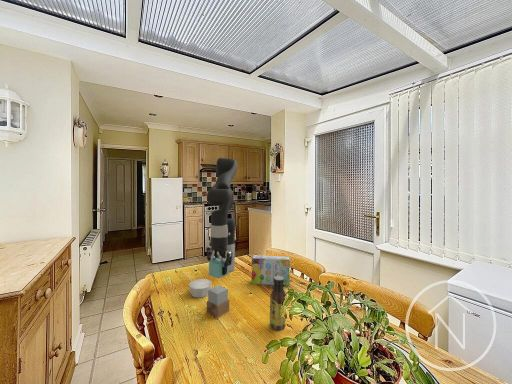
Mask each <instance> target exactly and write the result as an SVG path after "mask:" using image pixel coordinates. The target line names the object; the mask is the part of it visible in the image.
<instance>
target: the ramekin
mask: <svg viewBox="0 0 512 384" xmlns="http://www.w3.org/2000/svg"><path fill="white" fill-rule="evenodd" d="M212 284H213V283H212V281H211V280H210V279H206V278H198V279H194V280H192V281H190V283H189V285H188V287H189V291H190V295H191V296H192V297H193V298H205V297H208V290H209V289H211V287H212Z"/></svg>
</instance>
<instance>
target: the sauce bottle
mask: <svg viewBox="0 0 512 384" xmlns="http://www.w3.org/2000/svg"><path fill="white" fill-rule="evenodd" d="M273 281H274V285H273V290H272V291H271V293H270V298H269V299H270V300H269V326H270V327H271V329H274V330H277V331H281V330H283V329H285V327H286V321H287V320H286V318H287V317H286V318H284V317H280V310H281V306H282V302H283V299H284V297H285V296H286V297H287V295H286V292H285V290H284V286H283V282H284V278H283V277H282V276H275V277H274V279H273Z"/></svg>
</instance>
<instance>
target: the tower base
mask: <svg viewBox="0 0 512 384" xmlns="http://www.w3.org/2000/svg"><path fill="white" fill-rule="evenodd" d="M228 312H230V299H228V300H227V301H225V302H223V303H222V304H220V305H218V306H217V305H215V304H213V303H211V302H209V301H208V300H207V301H206V313H207V314H210V315H211V316H213V317H215V318H217V319H219V318H220V317H222V316H223V315H225V314H227V313H228Z"/></svg>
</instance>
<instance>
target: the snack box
mask: <svg viewBox="0 0 512 384" xmlns="http://www.w3.org/2000/svg"><path fill="white" fill-rule="evenodd" d="M290 269H291V258H290V256H277V255H275V256H273V255H254V254H253V255H252V257H251V284H252V285H265V286H267V285H268V286H274V281H273V279H274V277H275V276H282V277H283V278H284V282H283V285H284V286H283V287H290V275H291V274H290V272H291V271H290Z"/></svg>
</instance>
